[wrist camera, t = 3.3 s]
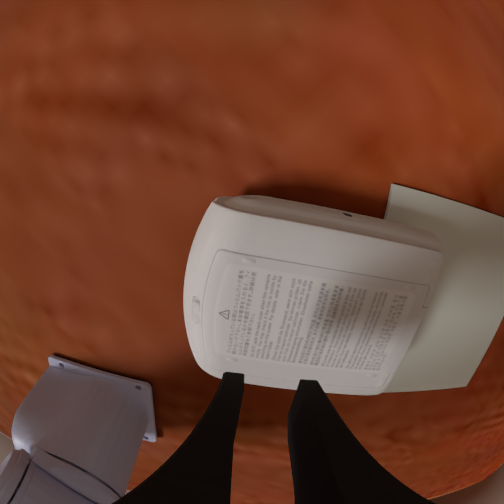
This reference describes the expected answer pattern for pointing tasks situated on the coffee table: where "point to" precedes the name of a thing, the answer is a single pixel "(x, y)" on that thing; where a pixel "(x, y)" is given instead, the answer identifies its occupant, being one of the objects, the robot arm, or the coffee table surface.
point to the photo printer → (306, 293)
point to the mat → (452, 290)
